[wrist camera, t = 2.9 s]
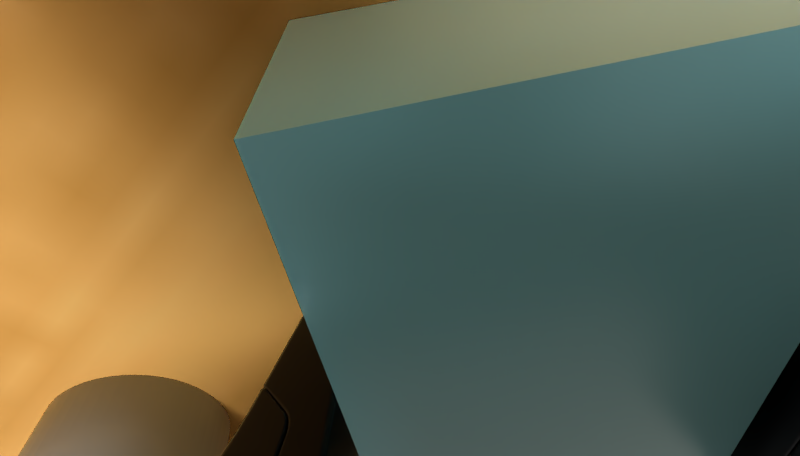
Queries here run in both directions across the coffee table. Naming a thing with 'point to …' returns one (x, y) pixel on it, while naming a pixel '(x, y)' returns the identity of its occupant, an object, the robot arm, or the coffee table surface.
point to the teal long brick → (539, 218)
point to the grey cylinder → (131, 420)
